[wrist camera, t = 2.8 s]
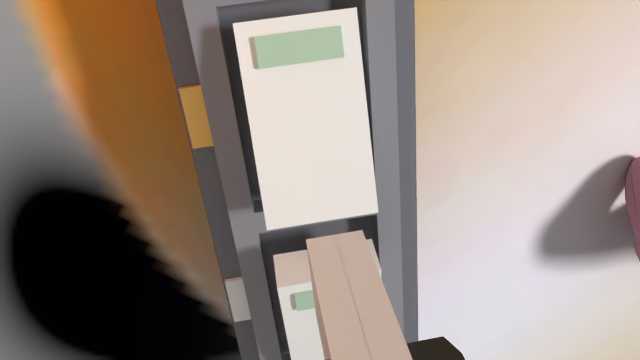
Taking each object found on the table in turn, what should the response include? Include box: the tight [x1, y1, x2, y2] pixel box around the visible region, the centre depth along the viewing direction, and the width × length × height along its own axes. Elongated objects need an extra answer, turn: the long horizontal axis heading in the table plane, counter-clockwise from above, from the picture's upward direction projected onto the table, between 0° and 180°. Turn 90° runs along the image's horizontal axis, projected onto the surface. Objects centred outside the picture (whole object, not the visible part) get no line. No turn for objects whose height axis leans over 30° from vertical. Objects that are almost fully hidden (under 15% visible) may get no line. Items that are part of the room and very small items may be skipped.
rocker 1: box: [233, 7, 379, 230], centre depth 18 cm, size 7×4×2 cm, turn 6°
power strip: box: [156, 0, 418, 360], centre depth 21 cm, size 28×9×5 cm, turn 6°
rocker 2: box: [273, 239, 382, 360], centre depth 22 cm, size 7×4×2 cm, turn 6°
